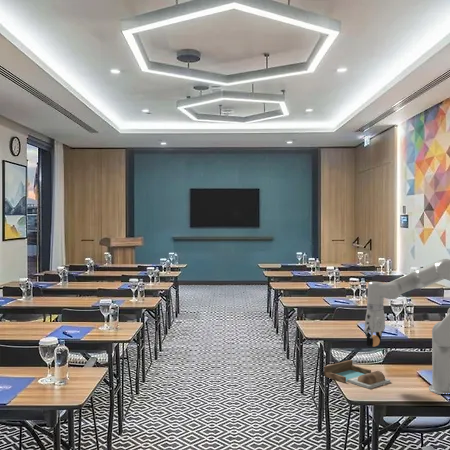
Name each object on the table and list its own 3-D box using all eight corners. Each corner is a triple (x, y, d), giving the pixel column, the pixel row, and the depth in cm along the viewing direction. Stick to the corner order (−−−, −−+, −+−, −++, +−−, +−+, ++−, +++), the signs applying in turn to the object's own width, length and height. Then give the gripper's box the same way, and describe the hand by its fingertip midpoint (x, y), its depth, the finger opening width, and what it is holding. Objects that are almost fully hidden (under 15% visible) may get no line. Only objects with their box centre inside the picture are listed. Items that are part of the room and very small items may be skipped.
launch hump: (385, 387, 244) (385, 372, 244) (369, 392, 237) (369, 377, 237) (373, 383, 250) (373, 369, 250) (357, 388, 242) (357, 373, 242)
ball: (381, 346, 242) (382, 335, 242) (374, 348, 239) (375, 336, 239) (372, 344, 247) (372, 333, 247) (365, 345, 244) (365, 334, 243)
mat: (368, 375, 255) (368, 374, 255) (345, 381, 245) (345, 381, 245) (350, 370, 264) (350, 369, 264) (327, 376, 254) (327, 375, 254)
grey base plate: (390, 382, 244) (390, 379, 244) (369, 388, 234) (369, 385, 234) (368, 375, 254) (368, 373, 254) (347, 381, 245) (347, 379, 245)
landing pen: (371, 375, 256) (371, 365, 256) (344, 382, 244) (344, 372, 244) (350, 369, 266) (350, 359, 266) (324, 376, 254) (324, 366, 254)
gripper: (370, 310, 235) (368, 349, 235) (392, 307, 245) (391, 344, 245) (357, 307, 241) (355, 345, 241) (379, 304, 251) (377, 341, 251)
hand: (373, 344), depth 243 cm, fingers closed on ball, 5 cm apart
